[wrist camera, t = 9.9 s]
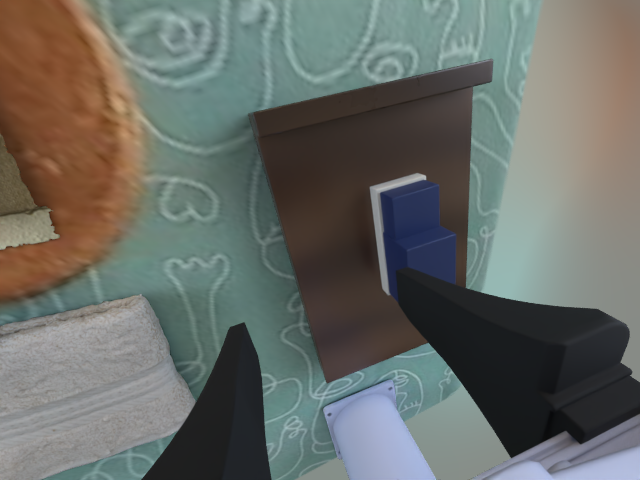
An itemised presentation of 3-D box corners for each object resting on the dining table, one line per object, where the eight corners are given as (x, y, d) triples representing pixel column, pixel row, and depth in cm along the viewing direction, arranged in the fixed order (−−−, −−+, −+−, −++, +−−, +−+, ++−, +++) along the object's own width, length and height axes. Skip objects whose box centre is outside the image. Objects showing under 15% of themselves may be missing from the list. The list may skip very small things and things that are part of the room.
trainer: (422, 274, 23) (457, 303, 20) (382, 288, 22) (410, 321, 19) (417, 172, 19) (459, 185, 16) (369, 186, 19) (401, 202, 15)
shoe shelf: (447, 312, 29) (476, 338, 26) (319, 362, 27) (332, 398, 24) (446, 68, 20) (494, 58, 16) (247, 113, 17) (251, 112, 14)
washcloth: (-195, 361, 16) (-282, 412, 13) (150, 281, 20) (138, 308, 17) (-53, 477, 21) (-95, 531, 18) (201, 396, 25) (197, 431, 22)
